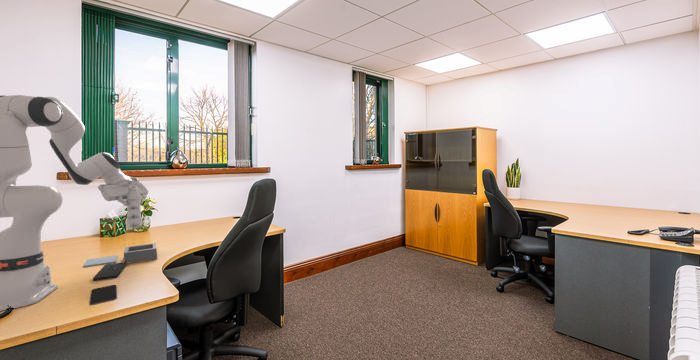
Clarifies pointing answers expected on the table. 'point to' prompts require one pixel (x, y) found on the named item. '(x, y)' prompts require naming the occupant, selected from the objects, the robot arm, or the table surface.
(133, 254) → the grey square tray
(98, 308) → the table surface
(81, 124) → the robot arm
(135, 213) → the plastic bottle
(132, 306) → the table surface
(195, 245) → the table surface
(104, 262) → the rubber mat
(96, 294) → the smartphone
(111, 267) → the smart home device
